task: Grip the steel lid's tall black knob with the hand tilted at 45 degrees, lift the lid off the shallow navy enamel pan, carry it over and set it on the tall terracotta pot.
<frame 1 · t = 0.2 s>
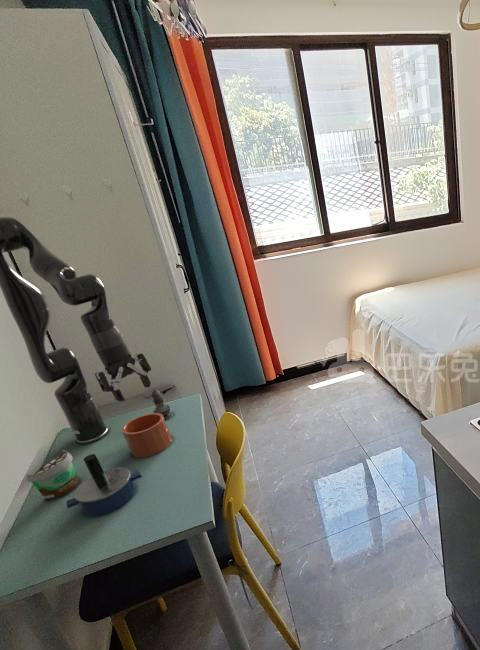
hand: (135, 393, 133), 22 cm above the table, tool pointing down, fingers open, 8 cm apart
pan: (110, 499, 125), on the table
lid: (103, 485, 123), point 5 cm above the table, touching pan
grey upright piece: (165, 417, 165), on the table
pot: (152, 445, 148), on the table
food container: (68, 489, 131), on the table
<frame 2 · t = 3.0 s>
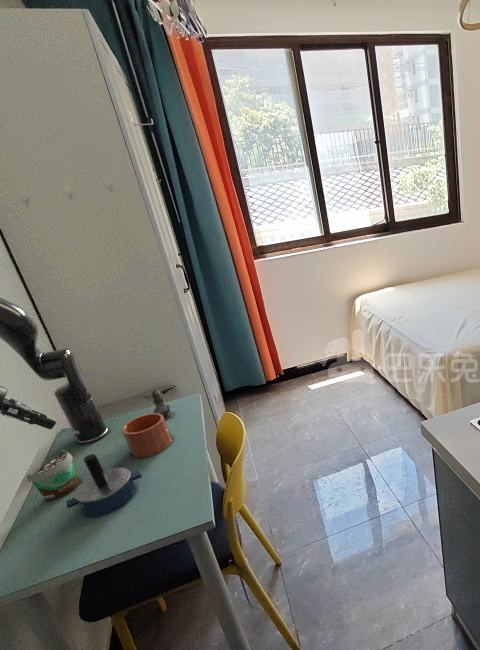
hand: (49, 422, 112), 27 cm above the table, tool tilted 35°, fingers open, 8 cm apart
nothing on the table moved.
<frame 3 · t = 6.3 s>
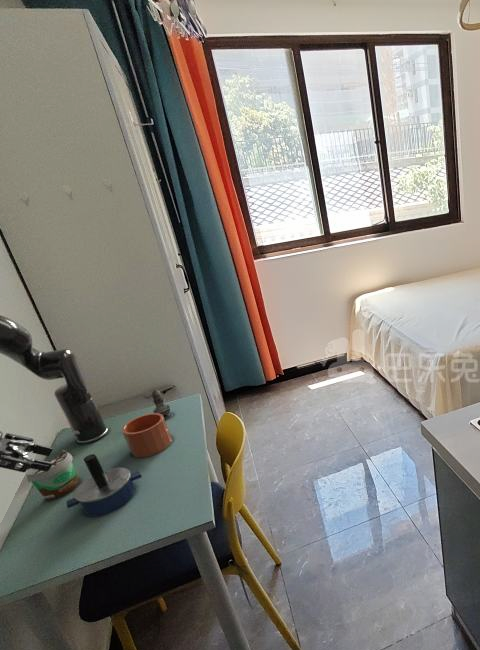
hand: (50, 459, 114), 18 cm above the table, tool tilted 45°, fingers open, 8 cm apart
nothing on the table moved.
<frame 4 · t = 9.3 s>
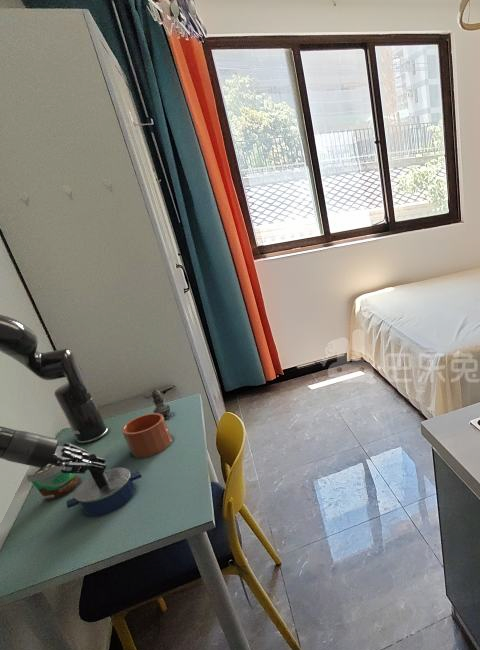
hand: (104, 465, 121), 11 cm above the table, tool tilted 45°, fingers closed on lid, 3 cm apart
lid: (103, 485, 123), point 5 cm above the table, touching gripper, pan
everything else where it was.
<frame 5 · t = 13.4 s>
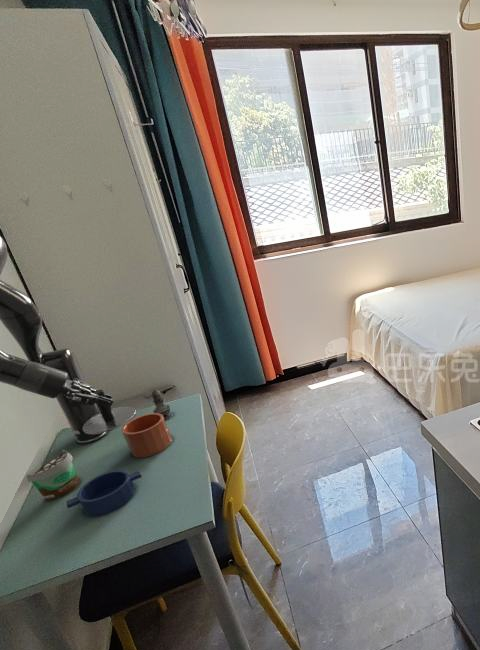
hand: (110, 401, 127), 24 cm above the table, tool tilted 45°, fingers closed on lid, 3 cm apart
lid: (110, 420, 129), point 18 cm above the table, touching gripper
everything else where it was.
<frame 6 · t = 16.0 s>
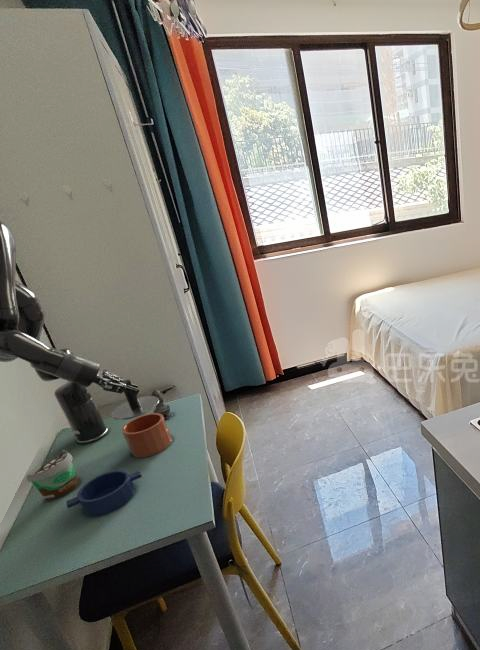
hand: (137, 390, 140), 20 cm above the table, tool tilted 45°, fingers closed on lid, 3 cm apart
lid: (136, 408, 141), point 15 cm above the table, touching gripper
everything else where it was.
when the fingers open (15 cm above the table, at t = 17.8 s): lid stays where it is, resting on pot.
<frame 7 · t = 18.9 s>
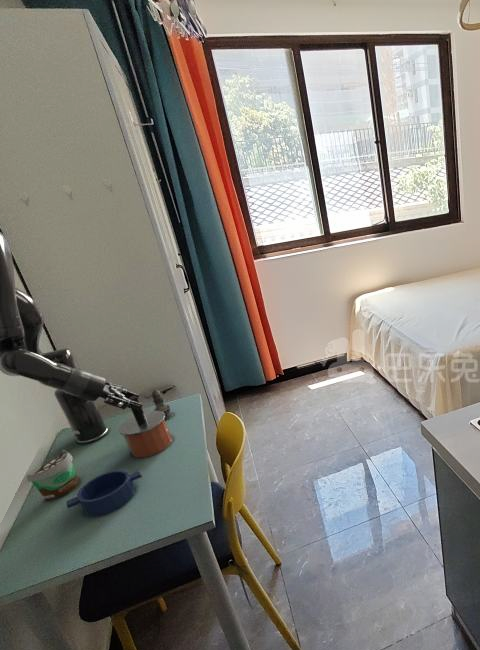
hand: (139, 402, 142), 16 cm above the table, tool tilted 45°, fingers open, 8 cm apart
lid: (142, 423, 144), point 9 cm above the table, touching pot
everything else where it was.
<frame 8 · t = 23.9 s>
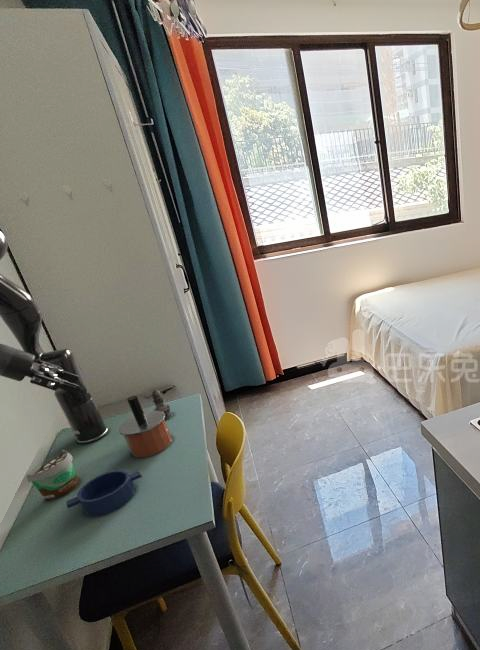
hand: (77, 384, 124), 31 cm above the table, tool tilted 45°, fingers open, 8 cm apart
nothing on the table moved.
at the end: lid 0.1 cm off-centre on the pot, point 9.0 cm above the pot's base; lid tilted 0°; the gripper is holding nothing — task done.
